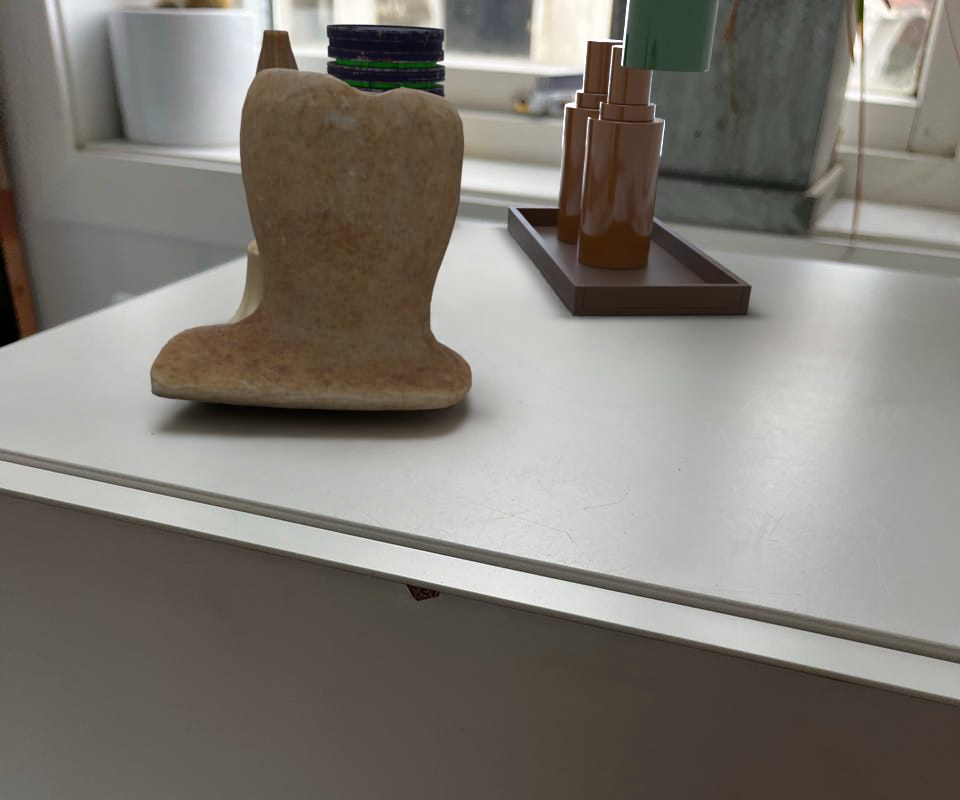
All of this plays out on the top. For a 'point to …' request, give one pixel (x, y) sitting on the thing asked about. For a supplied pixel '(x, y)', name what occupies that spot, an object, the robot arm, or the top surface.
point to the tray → (630, 273)
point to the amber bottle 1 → (581, 135)
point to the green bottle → (669, 34)
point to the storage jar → (387, 57)
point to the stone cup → (336, 254)
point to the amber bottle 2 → (620, 172)
